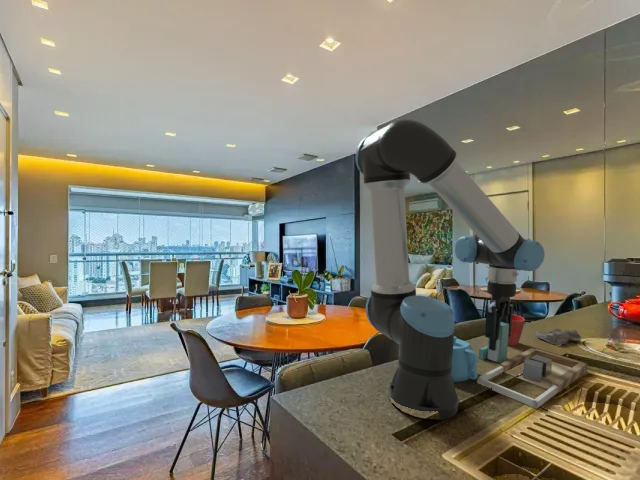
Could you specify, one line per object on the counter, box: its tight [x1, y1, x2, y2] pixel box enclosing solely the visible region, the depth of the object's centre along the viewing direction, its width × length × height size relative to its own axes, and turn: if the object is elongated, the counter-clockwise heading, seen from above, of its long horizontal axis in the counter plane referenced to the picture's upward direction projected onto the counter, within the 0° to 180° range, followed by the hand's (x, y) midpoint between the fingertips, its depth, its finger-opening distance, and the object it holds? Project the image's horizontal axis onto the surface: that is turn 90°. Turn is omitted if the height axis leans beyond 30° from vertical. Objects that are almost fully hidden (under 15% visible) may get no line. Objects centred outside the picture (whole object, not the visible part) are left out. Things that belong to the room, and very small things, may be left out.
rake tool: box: [478, 322, 509, 364], centre depth 102 cm, size 5×9×12 cm, turn 128°
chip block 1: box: [523, 359, 543, 383], centre depth 90 cm, size 4×4×4 cm
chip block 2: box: [530, 355, 552, 378], centre depth 93 cm, size 4×4×4 cm
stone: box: [535, 328, 582, 346], centre depth 123 cm, size 15×10×4 cm, turn 111°
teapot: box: [451, 335, 479, 383], centre depth 93 cm, size 13×11×18 cm
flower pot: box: [508, 313, 526, 346], centre depth 118 cm, size 11×11×10 cm
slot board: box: [499, 347, 588, 394], centre depth 95 cm, size 22×14×3 cm, turn 127°
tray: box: [476, 365, 558, 409], centre depth 84 cm, size 12×14×2 cm
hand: (496, 358), depth 102 cm, fingers closed on rake tool, 4 cm apart
